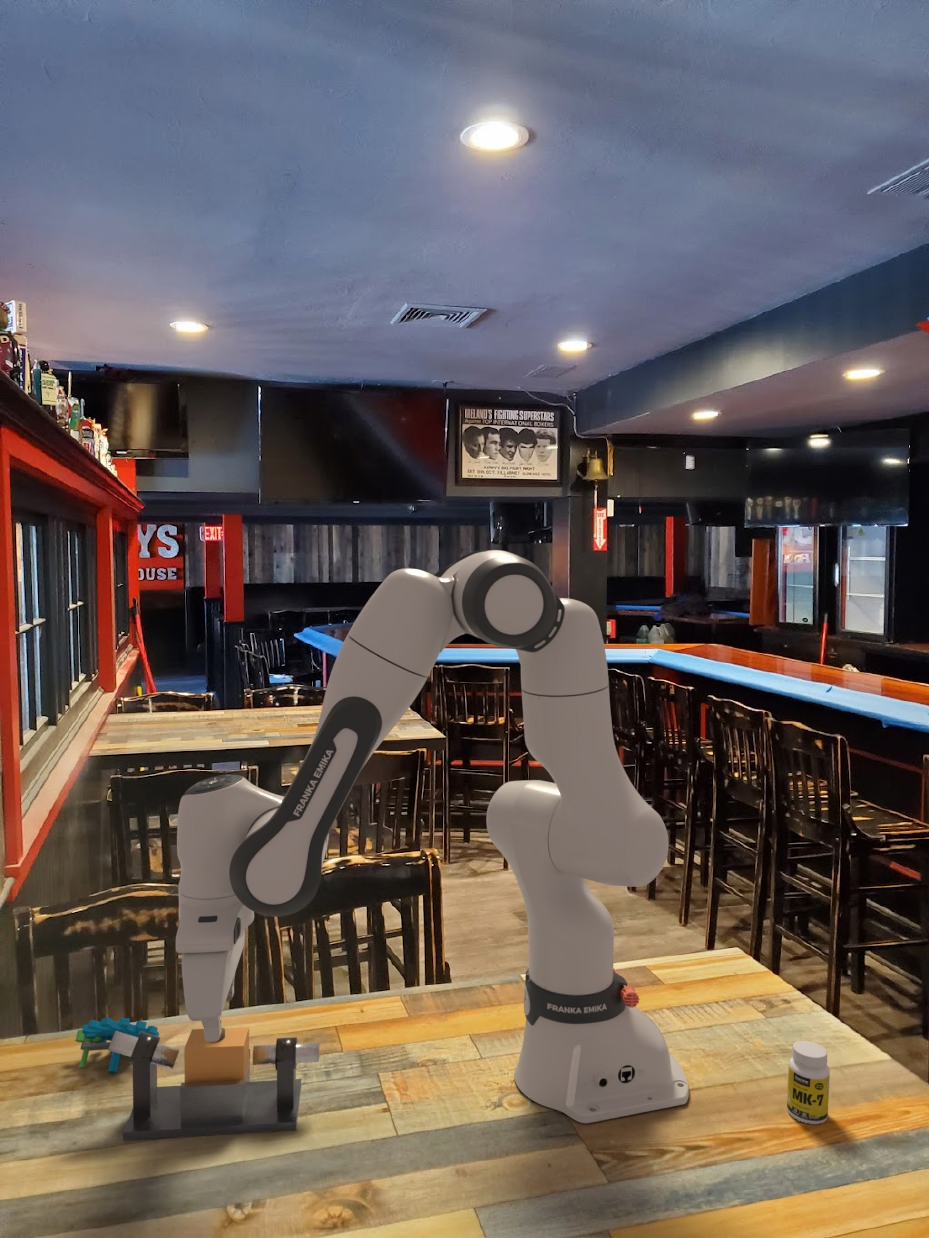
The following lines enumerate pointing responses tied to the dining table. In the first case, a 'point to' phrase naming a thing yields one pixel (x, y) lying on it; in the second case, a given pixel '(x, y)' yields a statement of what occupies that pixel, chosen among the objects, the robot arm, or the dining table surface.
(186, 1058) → the block
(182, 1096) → the shaft stand
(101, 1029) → the gear
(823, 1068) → the supplement bottle
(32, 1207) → the dining table surface
